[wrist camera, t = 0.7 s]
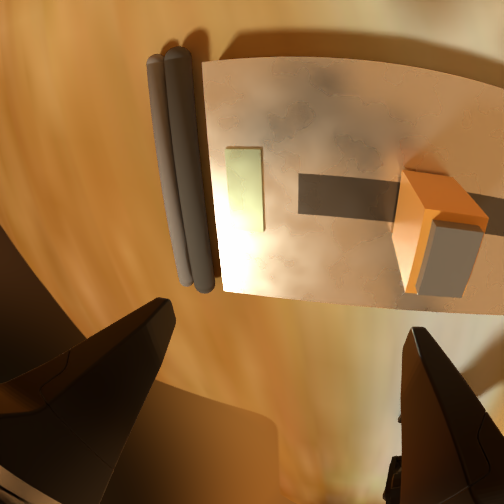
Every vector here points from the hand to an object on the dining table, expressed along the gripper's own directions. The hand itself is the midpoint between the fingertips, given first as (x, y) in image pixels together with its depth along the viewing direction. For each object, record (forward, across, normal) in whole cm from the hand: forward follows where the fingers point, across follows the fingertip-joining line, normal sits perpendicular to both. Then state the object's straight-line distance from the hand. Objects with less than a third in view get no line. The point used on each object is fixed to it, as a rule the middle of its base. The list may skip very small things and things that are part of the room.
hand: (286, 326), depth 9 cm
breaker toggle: (+10, -6, 0) cm, 11 cm away
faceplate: (+12, -6, 0) cm, 13 cm away
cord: (+12, +8, 0) cm, 14 cm away
